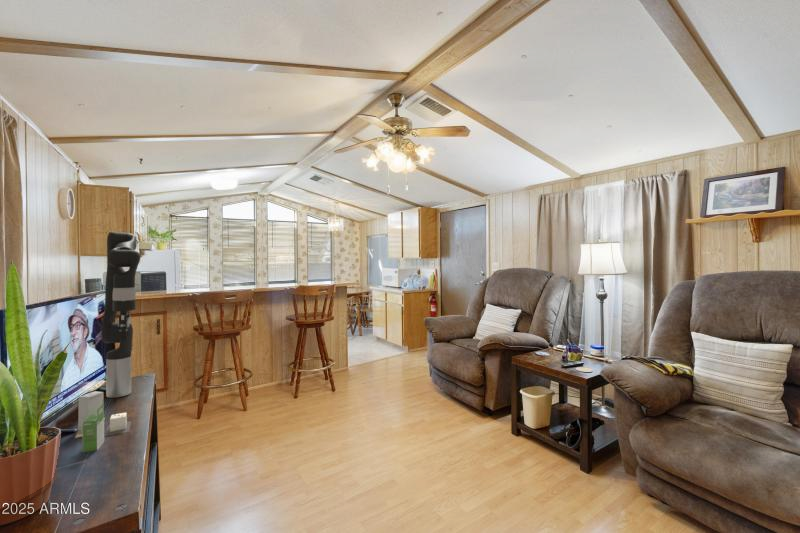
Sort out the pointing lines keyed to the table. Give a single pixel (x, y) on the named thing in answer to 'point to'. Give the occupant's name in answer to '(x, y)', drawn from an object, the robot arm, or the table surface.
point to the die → (118, 421)
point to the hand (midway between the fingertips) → (124, 338)
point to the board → (80, 432)
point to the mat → (118, 430)
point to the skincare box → (89, 406)
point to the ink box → (93, 431)
